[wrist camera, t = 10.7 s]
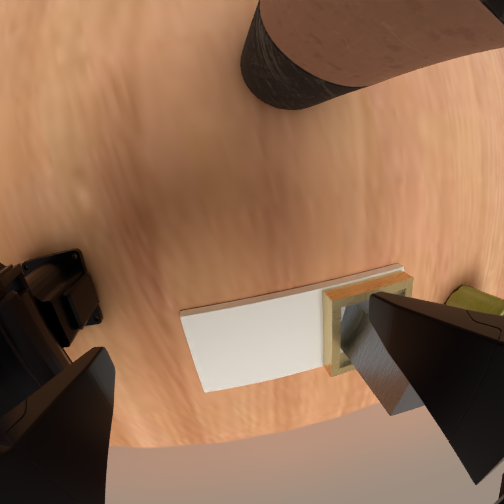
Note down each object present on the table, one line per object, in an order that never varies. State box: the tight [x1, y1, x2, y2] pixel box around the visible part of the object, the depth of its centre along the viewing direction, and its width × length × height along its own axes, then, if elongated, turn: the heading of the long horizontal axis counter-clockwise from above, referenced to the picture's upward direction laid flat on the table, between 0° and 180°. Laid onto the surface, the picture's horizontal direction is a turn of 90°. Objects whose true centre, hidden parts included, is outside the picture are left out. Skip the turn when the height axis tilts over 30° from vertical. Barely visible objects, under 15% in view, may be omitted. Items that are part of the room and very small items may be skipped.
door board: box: [180, 263, 404, 392], centre depth 24 cm, size 20×8×1 cm, turn 98°
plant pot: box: [445, 286, 504, 316], centre depth 24 cm, size 9×9×9 cm
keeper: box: [322, 270, 413, 377], centre depth 23 cm, size 8×8×2 cm
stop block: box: [340, 300, 424, 416], centre depth 20 cm, size 4×4×10 cm
